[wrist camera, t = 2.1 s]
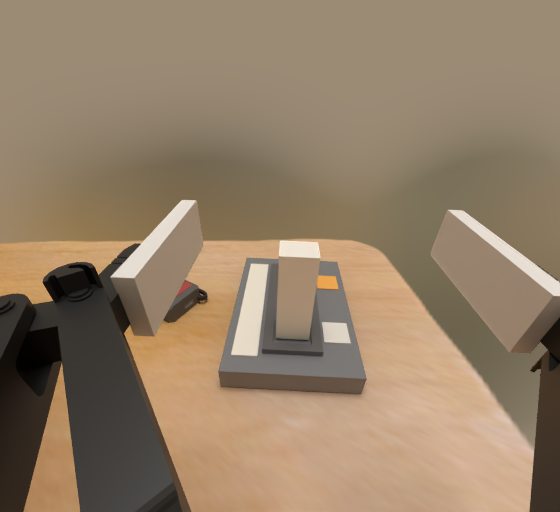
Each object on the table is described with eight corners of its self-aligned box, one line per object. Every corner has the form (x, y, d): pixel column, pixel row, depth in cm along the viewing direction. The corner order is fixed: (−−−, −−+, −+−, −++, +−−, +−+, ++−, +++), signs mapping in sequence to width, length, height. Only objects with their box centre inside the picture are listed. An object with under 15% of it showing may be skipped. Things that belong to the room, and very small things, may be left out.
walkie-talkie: (218, 294, 44) (138, 258, 52) (215, 273, 41) (132, 238, 49) (176, 330, 37) (93, 282, 45) (170, 307, 35) (83, 261, 43)
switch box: (220, 386, 30) (217, 366, 28) (247, 271, 49) (246, 253, 47) (360, 394, 30) (368, 374, 28) (334, 275, 48) (337, 258, 46)
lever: (275, 338, 32) (279, 256, 26) (276, 319, 35) (280, 240, 28) (308, 340, 32) (320, 258, 26) (307, 321, 35) (317, 242, 28)
